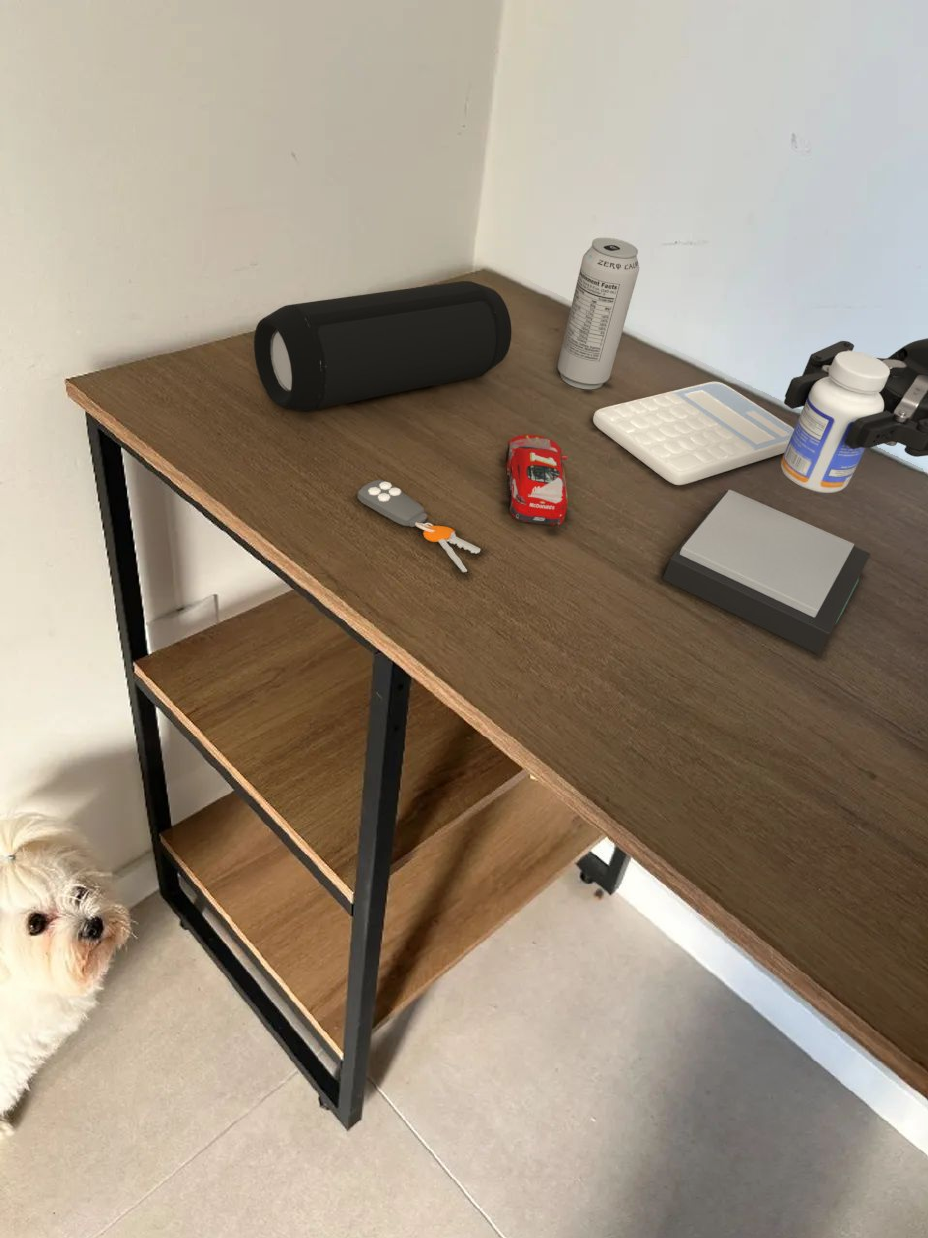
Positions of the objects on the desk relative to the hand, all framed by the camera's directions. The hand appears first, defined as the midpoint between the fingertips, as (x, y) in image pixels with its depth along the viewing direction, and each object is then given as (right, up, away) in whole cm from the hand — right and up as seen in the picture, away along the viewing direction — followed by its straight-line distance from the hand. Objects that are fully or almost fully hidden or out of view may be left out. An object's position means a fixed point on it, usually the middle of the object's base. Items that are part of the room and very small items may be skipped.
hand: (821, 414), depth 69 cm
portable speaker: (-35, +9, +29) cm, 46 cm away
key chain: (-30, -8, +11) cm, 33 cm away
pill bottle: (+1, -4, +5) cm, 7 cm away
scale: (0, -11, +14) cm, 18 cm away
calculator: (-2, +4, +31) cm, 31 cm away
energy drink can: (-13, +12, +37) cm, 41 cm away
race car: (-20, -3, +19) cm, 27 cm away
